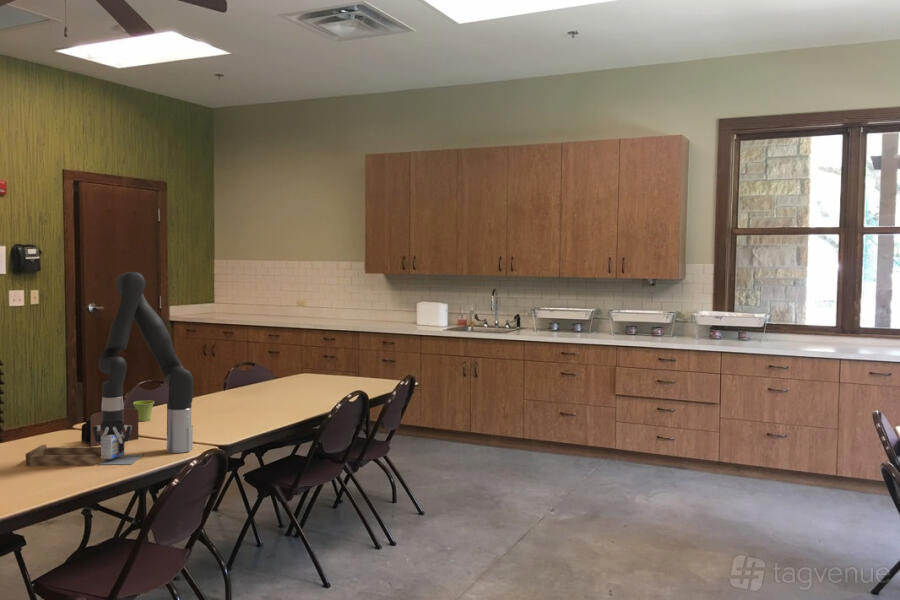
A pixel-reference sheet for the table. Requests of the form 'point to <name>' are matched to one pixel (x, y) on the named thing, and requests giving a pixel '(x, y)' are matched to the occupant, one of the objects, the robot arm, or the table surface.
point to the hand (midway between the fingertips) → (112, 452)
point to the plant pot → (144, 409)
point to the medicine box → (110, 447)
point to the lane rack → (62, 456)
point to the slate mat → (121, 460)
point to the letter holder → (96, 419)
